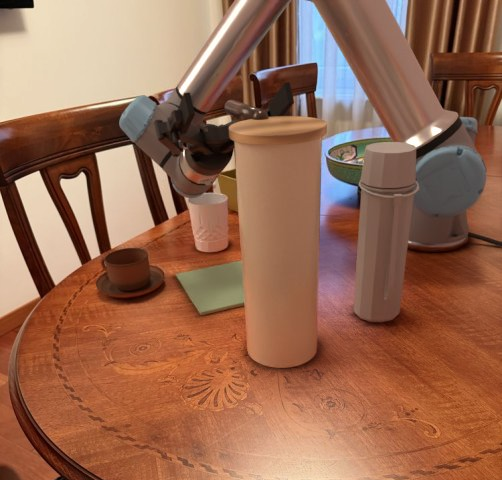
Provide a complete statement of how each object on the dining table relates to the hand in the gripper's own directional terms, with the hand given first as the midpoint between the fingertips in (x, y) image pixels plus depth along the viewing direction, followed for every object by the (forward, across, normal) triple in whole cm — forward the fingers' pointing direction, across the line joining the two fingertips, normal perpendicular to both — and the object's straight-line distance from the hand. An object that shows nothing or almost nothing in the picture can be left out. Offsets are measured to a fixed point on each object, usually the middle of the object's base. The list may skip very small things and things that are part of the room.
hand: (240, 97), depth 66 cm
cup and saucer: (-31, +16, -19) cm, 40 cm away
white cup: (-42, -3, -13) cm, 44 cm away
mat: (-25, 0, -22) cm, 34 cm away
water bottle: (-8, -17, -32) cm, 37 cm away
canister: (-6, 0, -33) cm, 34 cm away
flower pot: (-57, -17, -4) cm, 60 cm away
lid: (+4, 0, -5) cm, 6 cm away
